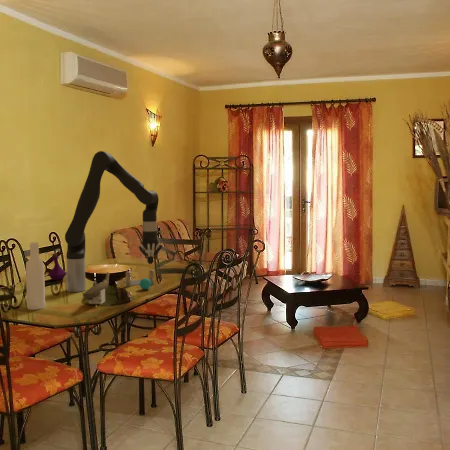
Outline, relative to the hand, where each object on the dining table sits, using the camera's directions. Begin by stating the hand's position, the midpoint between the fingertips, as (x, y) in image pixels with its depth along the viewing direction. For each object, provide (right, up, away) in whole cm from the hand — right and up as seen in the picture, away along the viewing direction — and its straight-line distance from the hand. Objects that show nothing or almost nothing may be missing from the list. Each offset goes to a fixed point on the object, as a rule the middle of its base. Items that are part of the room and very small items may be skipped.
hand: (150, 263), depth 267 cm
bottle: (-48, -18, -28) cm, 59 cm away
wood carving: (-23, -17, -16) cm, 32 cm away
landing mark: (-12, -13, +27) cm, 32 cm away
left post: (-15, -14, +18) cm, 27 cm away
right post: (-3, -13, +23) cm, 27 cm away
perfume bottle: (-59, -12, +36) cm, 71 cm away
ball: (-4, -12, +10) cm, 16 cm away
